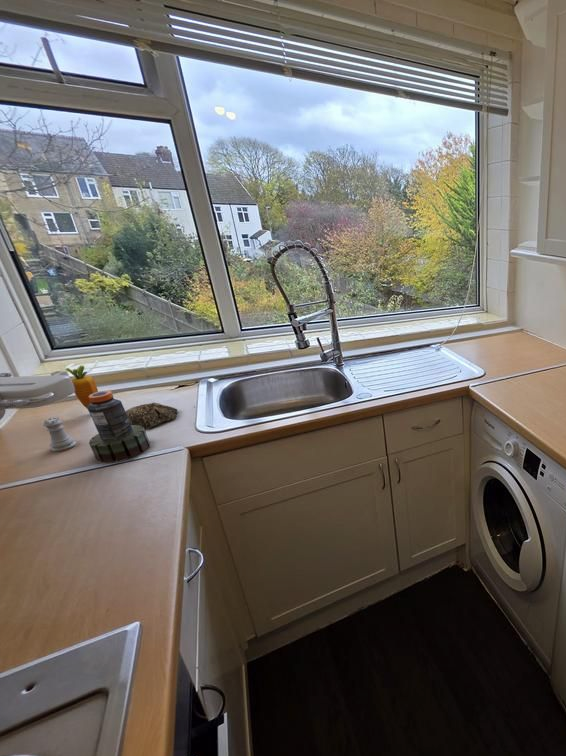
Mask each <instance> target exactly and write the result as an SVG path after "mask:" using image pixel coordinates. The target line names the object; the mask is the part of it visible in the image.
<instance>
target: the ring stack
mask: <svg viewBox="0 0 566 756" xmlns="http://www.w3.org/2000/svg"><path fill="white" fill-rule="evenodd" d="M131 426H132V428H133V431H132V432H131V433H130V434H129V435H127V436H125V437H122V438H119V439H115V440H102V439H101V437H100V435H99V433H96V434H95V435H94V436H92V437H91V438H90V439H89V441H88V445H89V446H90V449H91V451H92V453H93V455H94V458H95V460H96V461H97V462H99V463H104V464H108V463H109V464H111V463H115V462H117V463H118V462H122V461H125V460H129V458H131V459H133V458H135V457H138V456H139V455H141V454H142V453H145V452H146V451H147V450H148V449H150V447H151V442H150V439H149V437H148V434H147V432H146V428H143V427H142V426H139V425H137V426H136V425H131Z"/></svg>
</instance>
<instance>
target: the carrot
mask: <svg viewBox="0 0 566 756" xmlns="http://www.w3.org/2000/svg"><path fill="white" fill-rule="evenodd" d="M84 370H85V365H83V364H82V365H81V364H80V365H79V366H77V368H74V369H71V368H69V367H67V368H66V369H65V371H66V372H69V373H70V374H71V375H72V376H73V377H75V378H73V379H71V381H72V383H73V385H74V388H75V392H74V393H73V394H74V395H75V396H76V398H77V400H78V401H79V402H80V403H81V405H83V407H85V409H87V410H88V405H89V404H91V401H90V399H89V395H91V394H93V393H96V392H99V390H98V387H97V384H96V381H95V380H94V378H92V377H91V376H88V375H87V374H88V371H86V370H85V371H84Z"/></svg>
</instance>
